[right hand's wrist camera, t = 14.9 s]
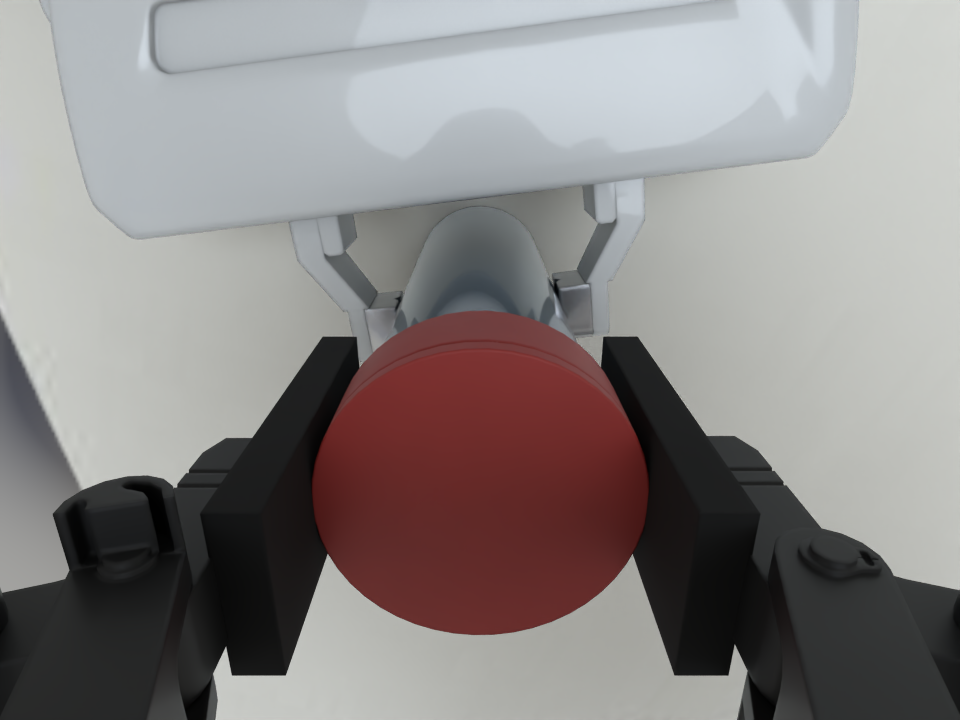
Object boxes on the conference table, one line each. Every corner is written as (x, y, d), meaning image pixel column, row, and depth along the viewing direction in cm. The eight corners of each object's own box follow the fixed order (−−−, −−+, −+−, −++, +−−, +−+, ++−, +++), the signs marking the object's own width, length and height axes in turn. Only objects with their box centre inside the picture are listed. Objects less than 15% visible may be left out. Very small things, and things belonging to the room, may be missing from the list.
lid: (576, 266, 11) (596, 297, 9) (655, 517, 13) (684, 586, 11) (287, 367, 11) (249, 416, 10) (403, 591, 13) (390, 668, 11)
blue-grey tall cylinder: (517, 187, 25) (578, 312, 9) (554, 300, 26) (657, 561, 11) (402, 230, 25) (284, 413, 10) (446, 337, 27) (401, 634, 12)
